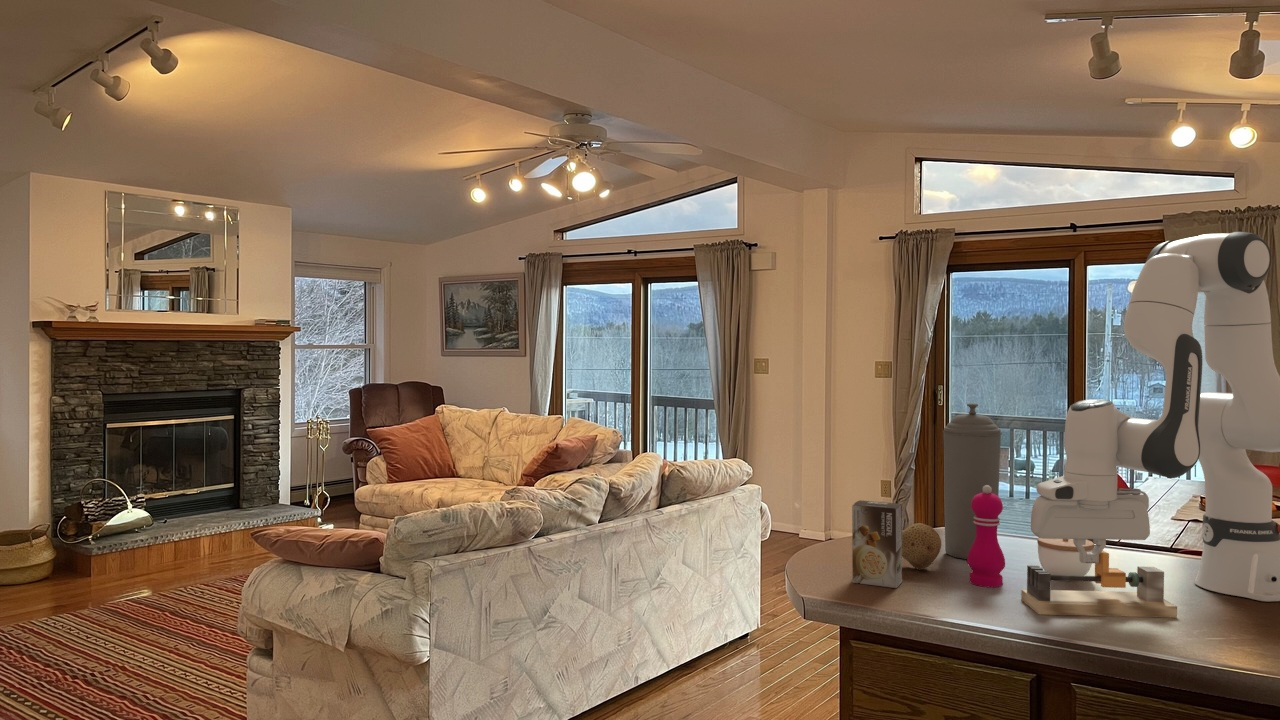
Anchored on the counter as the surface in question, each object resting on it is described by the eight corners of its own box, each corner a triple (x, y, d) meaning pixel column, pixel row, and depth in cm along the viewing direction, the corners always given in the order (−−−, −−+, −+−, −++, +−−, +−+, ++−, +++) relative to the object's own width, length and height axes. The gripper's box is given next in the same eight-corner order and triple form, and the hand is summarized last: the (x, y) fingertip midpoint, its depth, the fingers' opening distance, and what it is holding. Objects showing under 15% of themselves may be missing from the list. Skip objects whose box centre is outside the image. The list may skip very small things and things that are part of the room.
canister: (929, 551, 210) (931, 402, 210) (975, 547, 214) (977, 401, 213) (964, 564, 198) (966, 405, 197) (1012, 560, 202) (1014, 404, 201)
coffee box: (903, 581, 184) (904, 503, 183) (896, 589, 178) (897, 508, 178) (858, 575, 188) (859, 499, 188) (850, 583, 182) (851, 504, 182)
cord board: (1151, 602, 169) (1152, 563, 169) (1177, 617, 160) (1177, 575, 160) (1021, 599, 171) (1021, 560, 171) (1039, 614, 162) (1039, 572, 162)
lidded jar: (1053, 568, 195) (1054, 525, 195) (1103, 579, 186) (1104, 534, 186) (1026, 575, 189) (1027, 531, 188) (1076, 587, 180) (1077, 540, 180)
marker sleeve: (1116, 582, 167) (1117, 549, 167) (1125, 587, 164) (1126, 553, 163) (1094, 582, 167) (1095, 549, 167) (1102, 587, 164) (1103, 553, 164)
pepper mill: (1008, 589, 178) (1009, 488, 178) (969, 586, 180) (971, 487, 179) (1001, 579, 185) (1002, 483, 185) (964, 577, 187) (965, 481, 186)
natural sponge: (936, 577, 187) (936, 529, 187) (892, 571, 191) (893, 525, 191) (944, 567, 195) (944, 521, 195) (902, 562, 199) (903, 517, 199)
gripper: (1140, 485, 168) (1139, 559, 168) (1027, 484, 169) (1027, 557, 169) (1157, 491, 161) (1156, 568, 162) (1040, 490, 163) (1039, 566, 163)
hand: (1089, 562), depth 166 cm, fingers closed
